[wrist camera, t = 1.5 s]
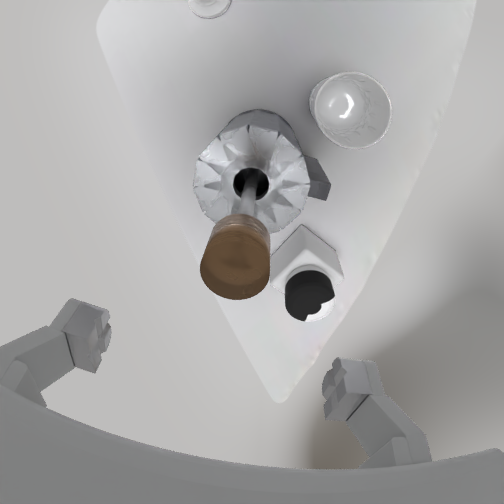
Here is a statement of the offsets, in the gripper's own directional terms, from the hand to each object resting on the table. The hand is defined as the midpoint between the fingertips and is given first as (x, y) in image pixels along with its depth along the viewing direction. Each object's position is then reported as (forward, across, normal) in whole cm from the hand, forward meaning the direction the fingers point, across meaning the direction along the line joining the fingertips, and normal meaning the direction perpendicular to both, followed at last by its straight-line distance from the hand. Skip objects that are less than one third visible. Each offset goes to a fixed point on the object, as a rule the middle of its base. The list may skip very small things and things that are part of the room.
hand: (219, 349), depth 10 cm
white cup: (+33, -8, -8) cm, 35 cm away
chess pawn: (+33, +10, -18) cm, 39 cm away
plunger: (+23, 0, 0) cm, 23 cm away
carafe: (+33, -1, 0) cm, 33 cm away
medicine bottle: (+34, -10, +14) cm, 38 cm away
